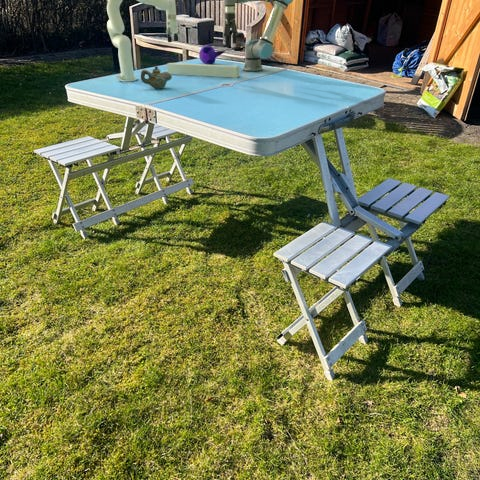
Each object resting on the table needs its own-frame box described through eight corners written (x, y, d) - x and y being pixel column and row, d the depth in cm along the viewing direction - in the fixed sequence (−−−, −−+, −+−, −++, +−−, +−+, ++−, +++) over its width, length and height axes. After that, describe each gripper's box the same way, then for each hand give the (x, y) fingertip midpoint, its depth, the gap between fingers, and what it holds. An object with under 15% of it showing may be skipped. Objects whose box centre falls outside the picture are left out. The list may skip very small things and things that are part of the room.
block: (167, 74, 363) (166, 64, 359) (171, 72, 367) (170, 62, 364) (236, 77, 344) (236, 67, 340) (239, 76, 348) (239, 65, 344)
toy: (209, 67, 381) (200, 66, 405) (227, 60, 385) (217, 60, 408) (203, 48, 374) (194, 48, 397) (222, 41, 377) (212, 42, 401)
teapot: (171, 85, 322) (169, 63, 314) (174, 88, 312) (172, 66, 305) (141, 88, 316) (138, 65, 309) (143, 91, 307) (140, 68, 299)
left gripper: (170, 18, 335) (171, 42, 343) (181, 16, 349) (182, 40, 357) (161, 17, 337) (163, 42, 345) (172, 16, 351) (174, 40, 359)
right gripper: (228, 14, 314) (229, 47, 325) (241, 11, 334) (241, 42, 345) (218, 14, 317) (219, 46, 328) (231, 11, 336) (232, 42, 347)
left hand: (172, 41), depth 351 cm, fingers open, 9 cm apart
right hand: (231, 44), depth 336 cm, fingers open, 13 cm apart
